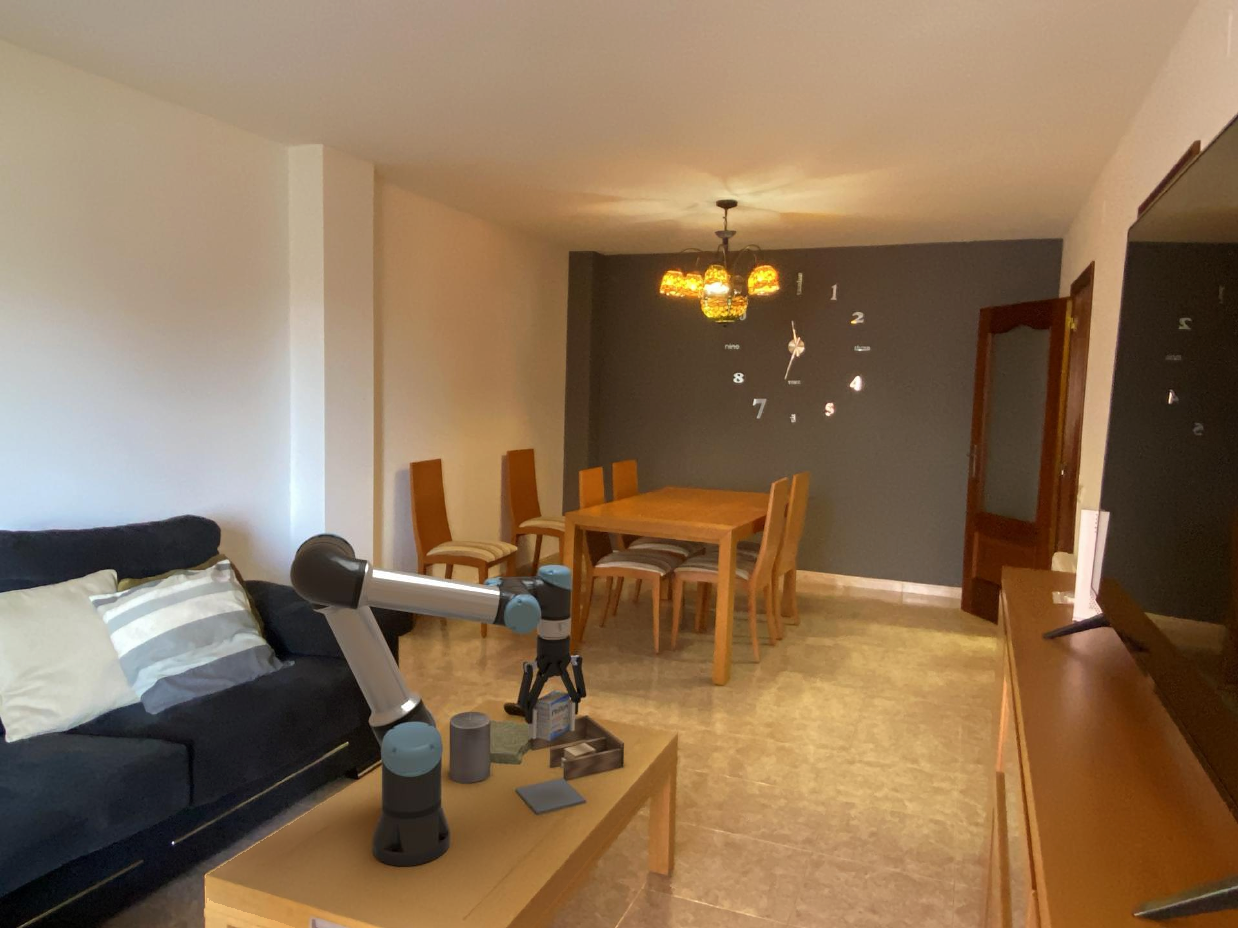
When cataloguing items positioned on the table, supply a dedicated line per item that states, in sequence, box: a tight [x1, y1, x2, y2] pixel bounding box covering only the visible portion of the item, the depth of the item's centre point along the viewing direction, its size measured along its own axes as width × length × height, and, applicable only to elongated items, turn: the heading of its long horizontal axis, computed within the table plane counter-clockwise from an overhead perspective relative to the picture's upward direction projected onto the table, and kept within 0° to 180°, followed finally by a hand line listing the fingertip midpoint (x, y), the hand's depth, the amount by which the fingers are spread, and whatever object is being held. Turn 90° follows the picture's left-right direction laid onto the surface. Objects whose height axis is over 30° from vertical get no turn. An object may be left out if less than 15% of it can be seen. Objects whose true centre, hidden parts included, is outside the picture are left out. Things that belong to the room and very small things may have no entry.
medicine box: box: [534, 689, 571, 741], centre depth 188 cm, size 8×4×9 cm, turn 149°
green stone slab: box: [490, 719, 532, 765], centre depth 216 cm, size 19×20×4 cm
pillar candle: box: [448, 711, 492, 784], centre depth 199 cm, size 10×10×15 cm
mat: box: [515, 777, 587, 816], centre depth 190 cm, size 12×12×1 cm
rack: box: [530, 714, 625, 781], centre depth 210 cm, size 16×20×6 cm
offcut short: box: [564, 743, 596, 760], centre depth 205 cm, size 6×5×2 cm
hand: (551, 732), depth 189 cm, fingers closed on medicine box, 9 cm apart
